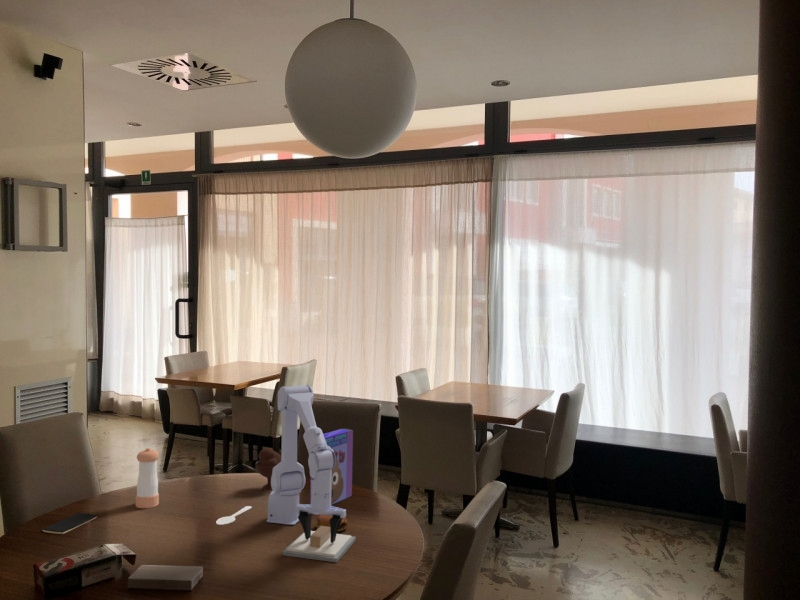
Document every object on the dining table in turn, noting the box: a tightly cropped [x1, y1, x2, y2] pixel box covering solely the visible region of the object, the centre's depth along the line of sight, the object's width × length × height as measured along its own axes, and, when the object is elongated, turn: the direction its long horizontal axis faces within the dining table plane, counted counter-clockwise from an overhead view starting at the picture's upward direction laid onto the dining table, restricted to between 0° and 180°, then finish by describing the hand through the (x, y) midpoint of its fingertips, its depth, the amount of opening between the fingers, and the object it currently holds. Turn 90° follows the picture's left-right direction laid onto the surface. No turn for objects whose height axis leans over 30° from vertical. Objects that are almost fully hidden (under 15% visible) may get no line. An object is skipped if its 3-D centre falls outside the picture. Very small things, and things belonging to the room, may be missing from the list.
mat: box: [282, 531, 357, 563], centre depth 178 cm, size 16×16×1 cm
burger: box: [316, 514, 349, 533], centre depth 193 cm, size 10×9×5 cm
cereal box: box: [309, 428, 354, 506], centre depth 217 cm, size 17×5×24 cm, turn 148°
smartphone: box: [42, 512, 98, 535], centre depth 192 cm, size 7×1×15 cm
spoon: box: [215, 505, 253, 526], centre depth 202 cm, size 5×18×1 cm, turn 161°
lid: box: [286, 526, 352, 557], centre depth 178 cm, size 14×14×4 cm
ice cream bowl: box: [254, 447, 281, 492], centre depth 231 cm, size 11×11×15 cm
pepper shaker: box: [135, 447, 160, 509], centre depth 211 cm, size 7×7×19 cm
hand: (320, 539), depth 178 cm, fingers open, 7 cm apart
